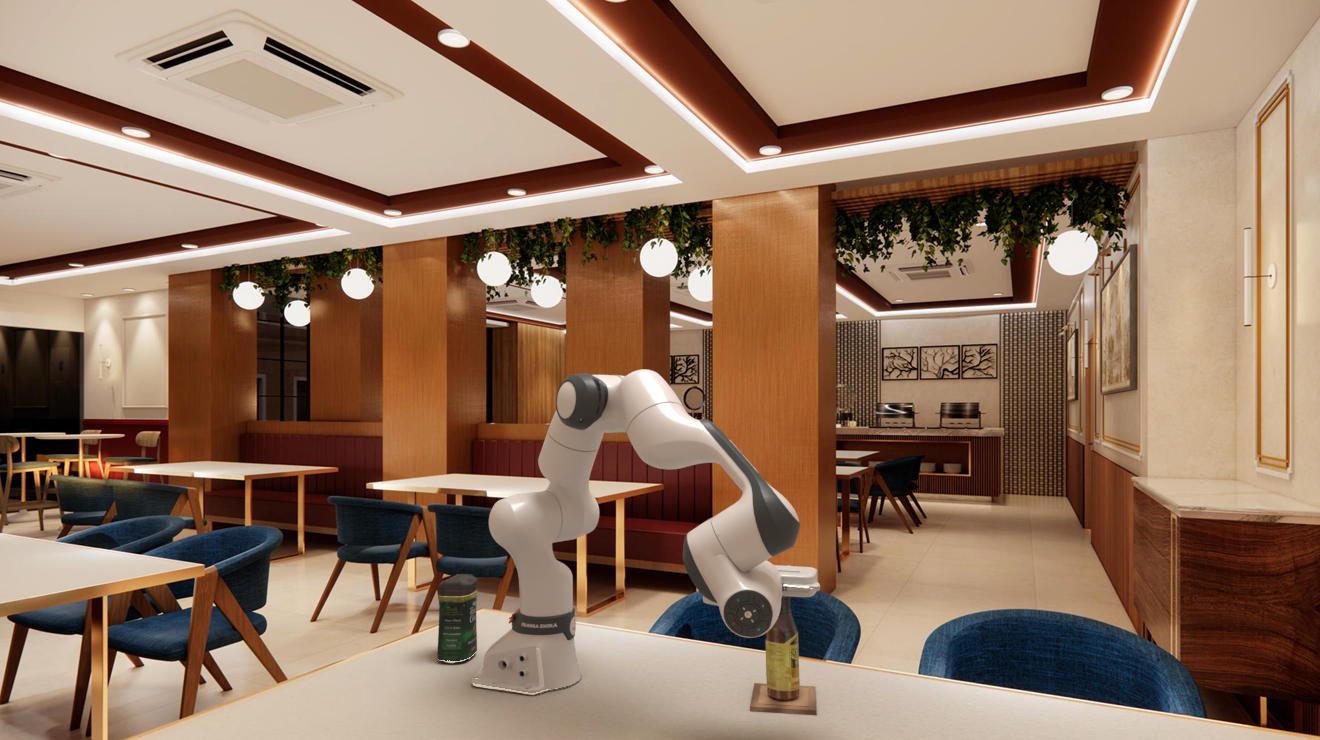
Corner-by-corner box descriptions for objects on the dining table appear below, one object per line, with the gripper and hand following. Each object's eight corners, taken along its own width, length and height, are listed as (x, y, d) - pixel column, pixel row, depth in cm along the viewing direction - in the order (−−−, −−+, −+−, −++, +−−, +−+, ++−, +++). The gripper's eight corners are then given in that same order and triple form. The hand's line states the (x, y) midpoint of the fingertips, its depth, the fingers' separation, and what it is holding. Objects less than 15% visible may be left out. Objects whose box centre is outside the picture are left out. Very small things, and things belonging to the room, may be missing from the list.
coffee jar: (467, 665, 162) (467, 580, 163) (432, 665, 163) (433, 580, 164) (481, 651, 172) (482, 571, 173) (449, 651, 172) (449, 571, 174)
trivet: (750, 710, 135) (750, 705, 135) (754, 687, 146) (754, 682, 146) (816, 714, 132) (816, 709, 132) (815, 690, 144) (815, 685, 144)
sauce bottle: (799, 703, 136) (796, 594, 137) (765, 700, 137) (762, 593, 138) (800, 690, 142) (797, 586, 143) (768, 688, 143) (765, 585, 145)
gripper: (820, 570, 117) (818, 553, 130) (694, 563, 121) (705, 547, 134) (820, 610, 117) (818, 589, 130) (693, 602, 121) (704, 582, 134)
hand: (760, 568), depth 132 cm, fingers open, 8 cm apart
